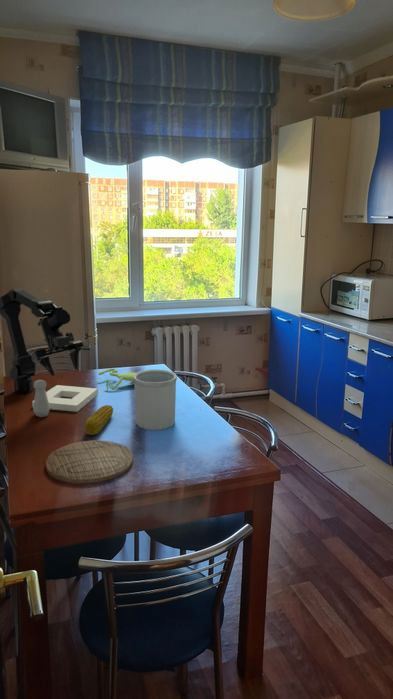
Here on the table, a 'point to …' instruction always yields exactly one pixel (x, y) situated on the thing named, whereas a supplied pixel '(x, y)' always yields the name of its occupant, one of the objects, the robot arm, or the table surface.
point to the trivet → (89, 462)
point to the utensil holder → (155, 399)
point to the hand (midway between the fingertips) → (65, 372)
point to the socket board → (77, 393)
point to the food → (98, 420)
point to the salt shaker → (41, 399)
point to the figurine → (122, 377)
